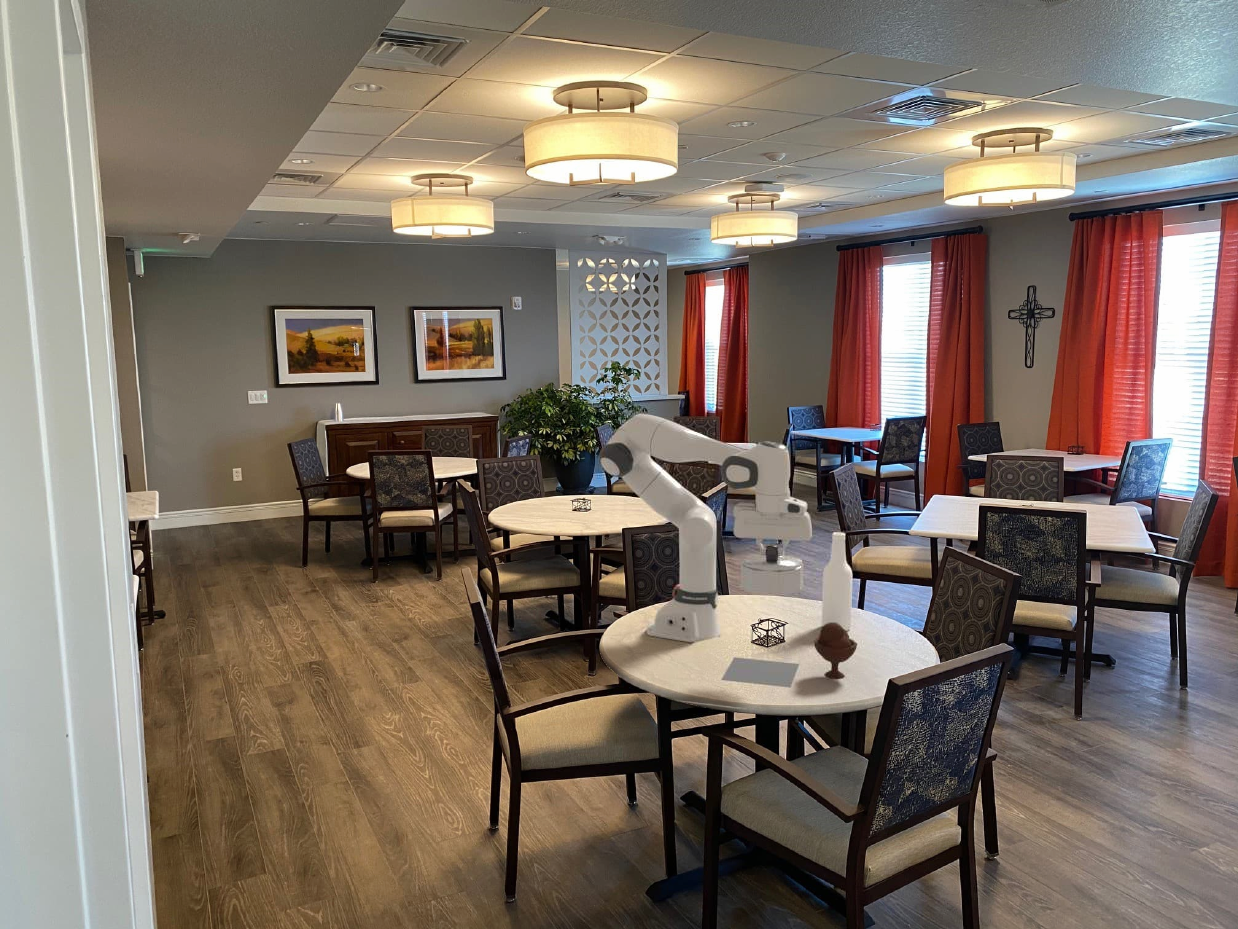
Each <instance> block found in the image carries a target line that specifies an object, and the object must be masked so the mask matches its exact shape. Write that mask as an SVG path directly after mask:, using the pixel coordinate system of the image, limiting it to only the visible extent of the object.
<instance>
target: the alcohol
mask: <svg viewBox="0 0 1238 929" xmlns="http://www.w3.org/2000/svg"><path fill="white" fill-rule="evenodd" d="M831 539H832V541H831V542H832V543H831V550H830V559H829V561H828V563H827V564H826V566H825V567H824V569H823V572H822V598H821V599H822V600H821V601H822V604H821V605H822V606H821V625H822V626H821V627H823V626H824V625H825V624H827V623H830V622H832V623H838V624H839V625H841V627H842V628H843V629H844V630H845V631H847V632H848V631H849V630H850V629H851V627H852V600H853V599H852V598H853V594H852V593H853V571H852V568H851V566H850V564H848V561H847V555H846V533H845V532H841V531H837V532H833V533H832V537H831Z"/></svg>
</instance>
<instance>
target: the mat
mask: <svg viewBox="0 0 1238 929" xmlns="http://www.w3.org/2000/svg"><path fill="white" fill-rule="evenodd" d="M799 665H800V663H796V662H795V663H794V662H793V663H792V662H784V661H774V660H773V661H772V660H765V659H755V658H754V659H753V658H746V657H745V658H744V657H737V656H736V657H735V656H734V657H733V658H732V660H731V662H730V664H729V666H728V667H727V669H726V671H725V673H724V675H722V677H721V681H729V682H738V683H748V684H755V685H765V686H766V685H767V686H773V687H775V686H776V687H784V688H791V687H792V686H793V682H794V680H795V677H796V674H797V670H798V668H799Z"/></svg>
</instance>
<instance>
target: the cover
mask: <svg viewBox="0 0 1238 929" xmlns="http://www.w3.org/2000/svg"><path fill="white" fill-rule="evenodd" d="M765 548H766V556H764V555H760V553H758V554H751V555H747V556H745V557H743V558H742V559H741V560H742V561H741V562H742V563H741V565H740V588H741V589H744V590H746V591H749V592H751V593H754V594H759V595H760V594H762V595H775V596H781V595H782V596H783V595H788V594H795V593H799V592H801V590H802V589H803V586H804V563H803V560H802V559H801V558H799V557H796V556H792V555H788V554H784V557H780V556H778V549H779V545H778V544H772V543H770V544H766V545H765Z"/></svg>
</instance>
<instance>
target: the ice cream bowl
mask: <svg viewBox="0 0 1238 929" xmlns="http://www.w3.org/2000/svg"><path fill="white" fill-rule="evenodd" d="M813 644H814V648H815V650H816V652H817V653H818V654H819V655H820V656H821V657H822V658H823V659H824V660H825V661H826V662H830V664H831V667H830V668H831V669H830V670H828V671H826V672H825V673H824V674H823V676H825V677H826V678H828V679H832V680H841V679H844V678H845V677H846V675H845V674H844V673H843V672H841V671H840V670H839V665H840V663H844V662H846V661H848V660H849V659H850V658H851V657H852V656H853V655H854V653H855V652H856V650H857V647H858V643H857V642H856V641H855V640H854V639H852V638H850V635H849V634H848V631H845V630H844V629H843V628H842V627H841V625H839V624H838V623H832V622H830V623H827V624H825V625H824V626H821V629H820V633H819V637H817V638H815V640H814V641H813Z"/></svg>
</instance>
